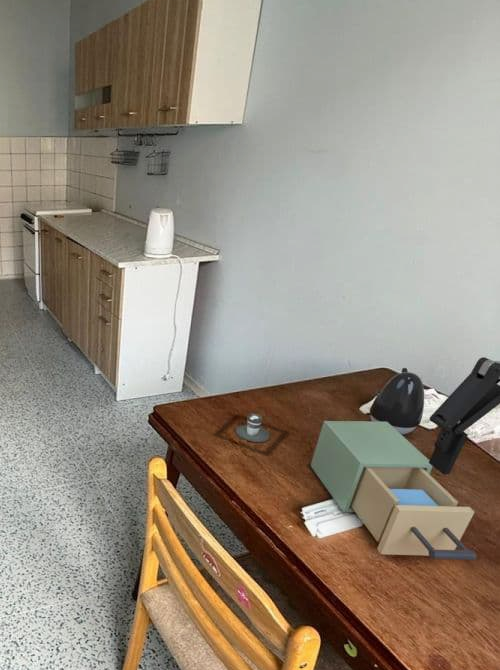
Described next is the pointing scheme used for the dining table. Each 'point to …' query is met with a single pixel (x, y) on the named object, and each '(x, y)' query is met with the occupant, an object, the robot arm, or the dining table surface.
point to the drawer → (411, 514)
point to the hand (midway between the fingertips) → (483, 465)
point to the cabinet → (359, 455)
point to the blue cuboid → (413, 497)
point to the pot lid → (253, 429)
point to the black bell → (400, 402)
